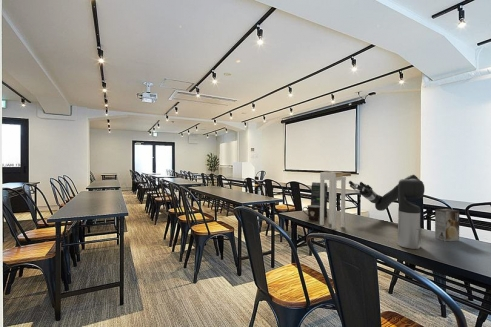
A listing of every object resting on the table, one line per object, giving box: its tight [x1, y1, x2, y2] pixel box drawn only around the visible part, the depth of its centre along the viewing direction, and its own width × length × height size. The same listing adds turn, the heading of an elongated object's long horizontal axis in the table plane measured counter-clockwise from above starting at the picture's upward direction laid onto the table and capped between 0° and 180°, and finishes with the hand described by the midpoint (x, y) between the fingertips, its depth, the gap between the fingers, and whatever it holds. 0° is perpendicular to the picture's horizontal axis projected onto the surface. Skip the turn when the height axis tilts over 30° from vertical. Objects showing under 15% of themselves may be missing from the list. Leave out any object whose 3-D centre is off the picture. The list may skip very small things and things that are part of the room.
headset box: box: [310, 181, 329, 218], centre depth 199 cm, size 22×12×26 cm, turn 164°
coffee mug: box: [302, 204, 320, 222], centre depth 180 cm, size 12×9×10 cm
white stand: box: [319, 171, 347, 230], centre depth 163 cm, size 12×10×34 cm
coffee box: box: [434, 208, 460, 242], centre depth 138 cm, size 9×6×16 cm
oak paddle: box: [323, 170, 352, 177], centre depth 166 cm, size 9×19×3 cm, turn 118°
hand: (354, 182), depth 173 cm, fingers open, 8 cm apart
